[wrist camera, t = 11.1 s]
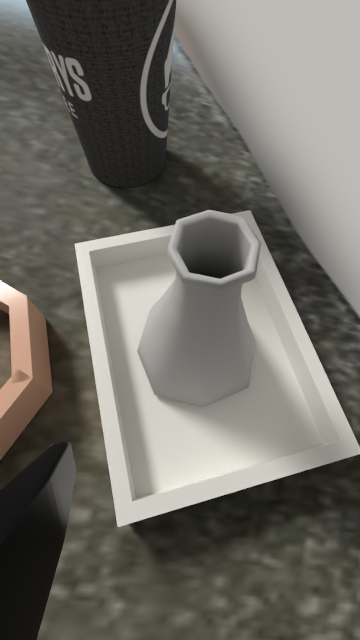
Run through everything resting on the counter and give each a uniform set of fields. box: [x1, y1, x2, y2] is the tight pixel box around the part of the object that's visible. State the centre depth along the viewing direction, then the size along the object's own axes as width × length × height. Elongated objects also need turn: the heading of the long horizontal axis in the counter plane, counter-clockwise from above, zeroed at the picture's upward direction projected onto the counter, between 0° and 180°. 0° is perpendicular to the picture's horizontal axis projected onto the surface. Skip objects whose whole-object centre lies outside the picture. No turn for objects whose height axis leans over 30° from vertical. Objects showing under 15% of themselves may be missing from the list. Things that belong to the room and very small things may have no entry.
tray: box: [75, 210, 360, 527], centre depth 19 cm, size 16×12×2 cm
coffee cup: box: [26, 0, 176, 188], centre depth 21 cm, size 10×10×15 cm
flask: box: [137, 210, 261, 407], centre depth 15 cm, size 7×7×10 cm
